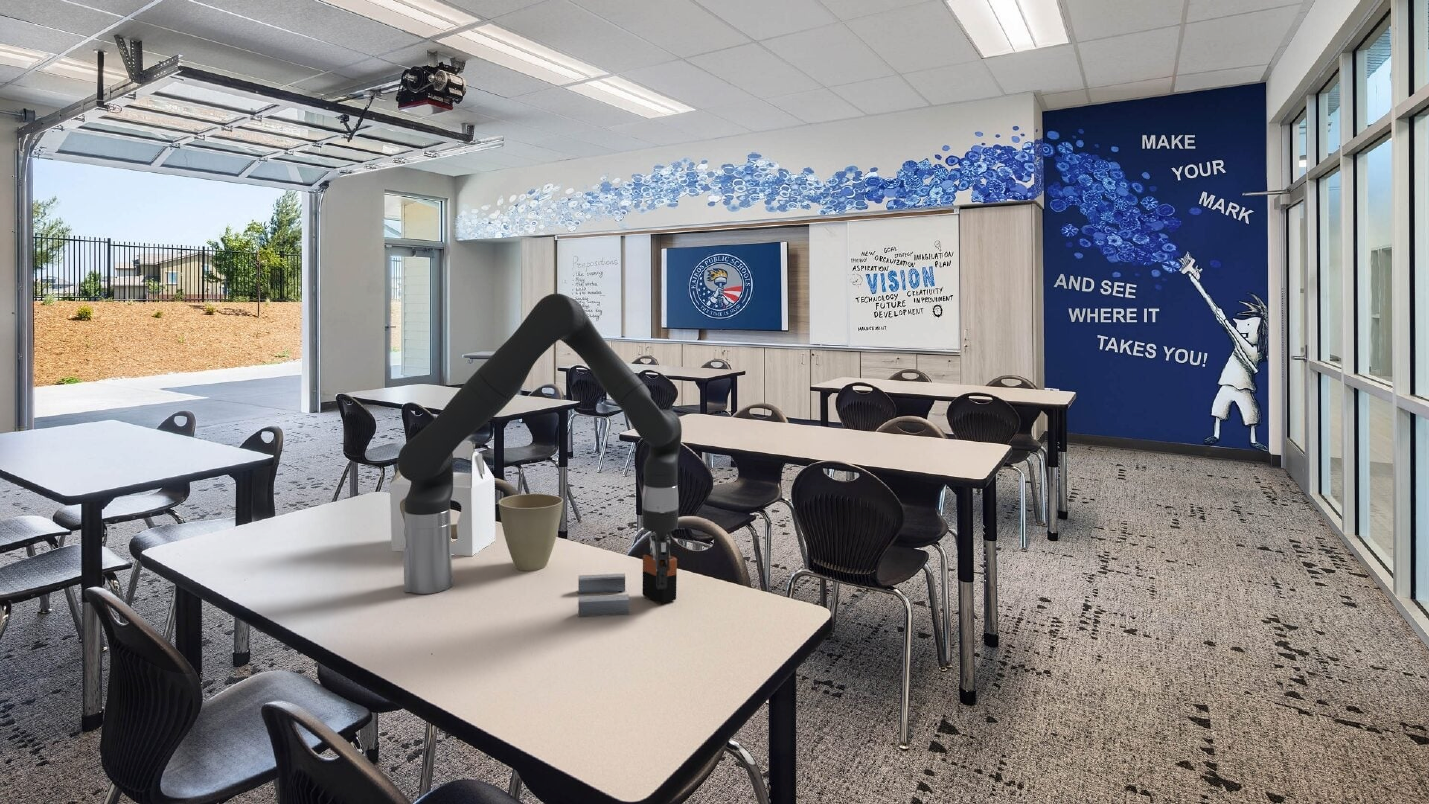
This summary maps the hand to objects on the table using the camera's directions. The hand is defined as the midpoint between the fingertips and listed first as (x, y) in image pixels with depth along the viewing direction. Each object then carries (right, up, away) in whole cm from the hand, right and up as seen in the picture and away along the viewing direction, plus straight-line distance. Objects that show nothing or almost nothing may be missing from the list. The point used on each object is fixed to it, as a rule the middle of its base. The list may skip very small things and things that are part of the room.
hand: (659, 581), depth 159 cm
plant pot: (-32, -1, +21) cm, 38 cm away
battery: (0, -4, 0) cm, 4 cm away
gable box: (-58, 0, +35) cm, 68 cm away
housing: (-12, -4, -2) cm, 12 cm away
